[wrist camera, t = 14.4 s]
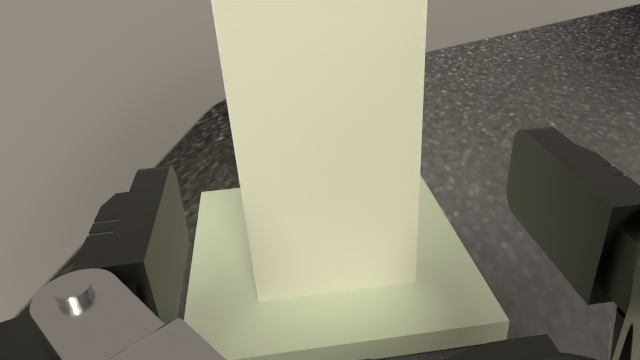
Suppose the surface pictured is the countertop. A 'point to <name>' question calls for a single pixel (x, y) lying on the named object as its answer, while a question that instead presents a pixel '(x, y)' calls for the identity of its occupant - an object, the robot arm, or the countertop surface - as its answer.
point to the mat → (336, 298)
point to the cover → (326, 138)
